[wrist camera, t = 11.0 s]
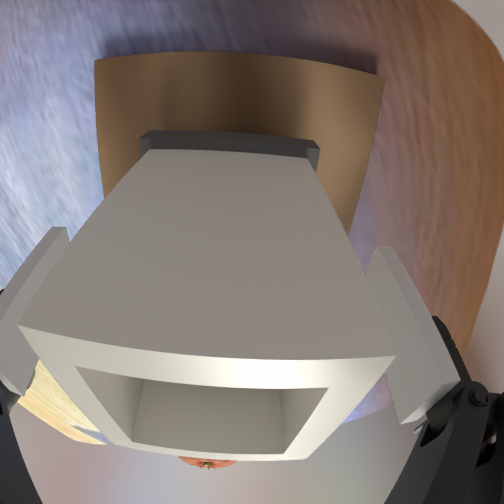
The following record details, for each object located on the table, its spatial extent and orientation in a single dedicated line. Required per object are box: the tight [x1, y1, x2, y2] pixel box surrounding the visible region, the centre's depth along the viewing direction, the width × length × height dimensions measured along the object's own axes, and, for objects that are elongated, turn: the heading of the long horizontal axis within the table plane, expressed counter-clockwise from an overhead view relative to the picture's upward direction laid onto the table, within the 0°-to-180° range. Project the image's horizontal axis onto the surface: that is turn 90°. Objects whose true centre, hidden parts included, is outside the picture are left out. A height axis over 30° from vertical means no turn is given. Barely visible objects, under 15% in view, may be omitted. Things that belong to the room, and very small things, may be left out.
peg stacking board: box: [94, 51, 385, 237], centre depth 13 cm, size 16×16×12 cm
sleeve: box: [17, 149, 397, 461], centre depth 10 cm, size 7×7×10 cm
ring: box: [139, 130, 320, 173], centre depth 15 cm, size 8×8×2 cm
